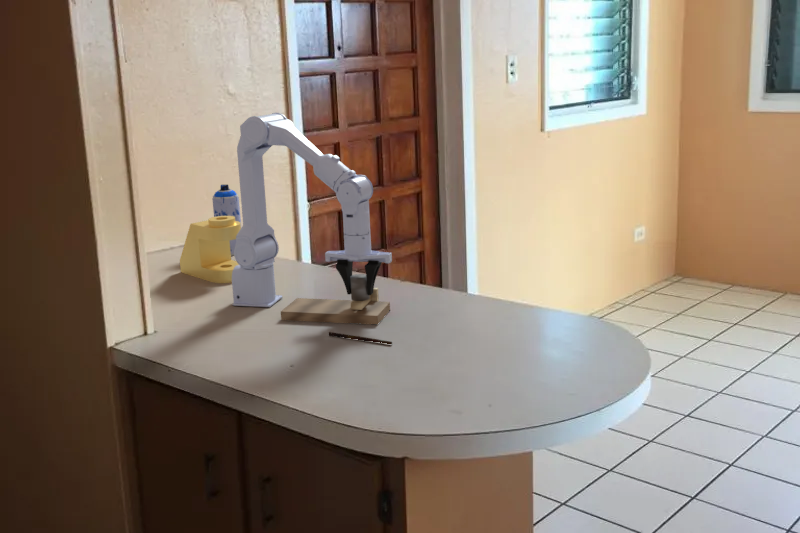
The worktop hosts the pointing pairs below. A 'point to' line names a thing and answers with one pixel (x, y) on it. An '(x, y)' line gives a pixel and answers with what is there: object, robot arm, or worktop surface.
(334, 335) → the dark notched rod
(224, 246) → the yellow bracket
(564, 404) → the worktop surface
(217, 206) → the aerosol can
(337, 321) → the board
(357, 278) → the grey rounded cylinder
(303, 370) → the worktop surface
